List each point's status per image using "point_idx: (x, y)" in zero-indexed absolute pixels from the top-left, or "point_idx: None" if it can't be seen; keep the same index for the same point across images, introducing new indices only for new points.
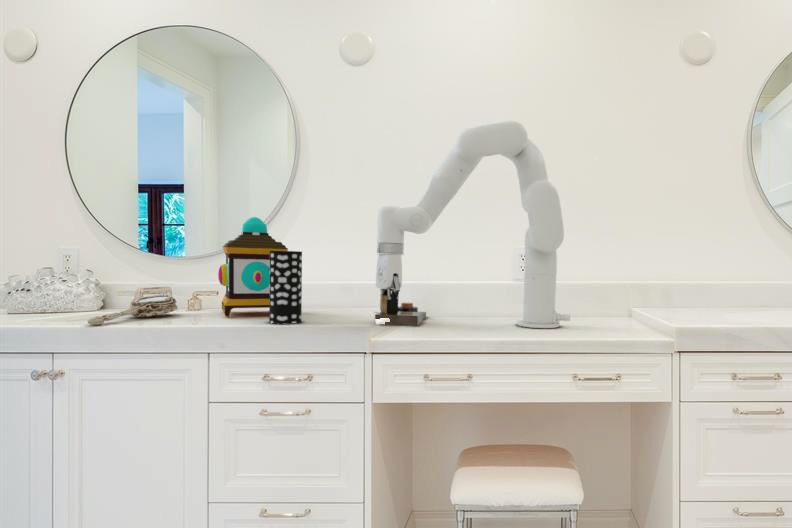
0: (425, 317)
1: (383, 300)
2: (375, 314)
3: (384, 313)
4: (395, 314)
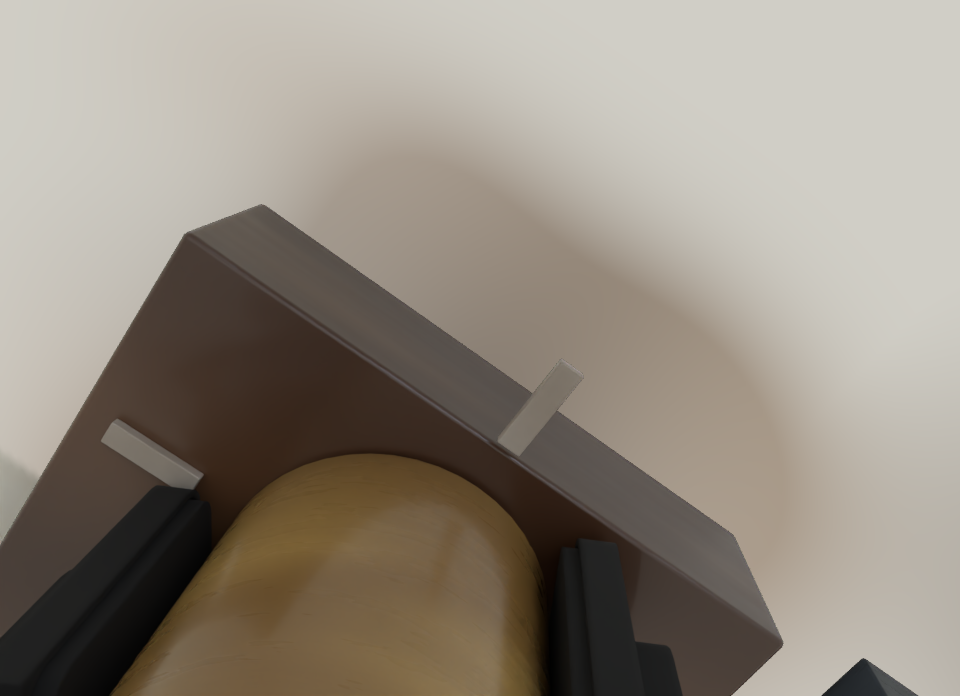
0: None
1: (202, 635)
2: (191, 242)
3: None
4: None
